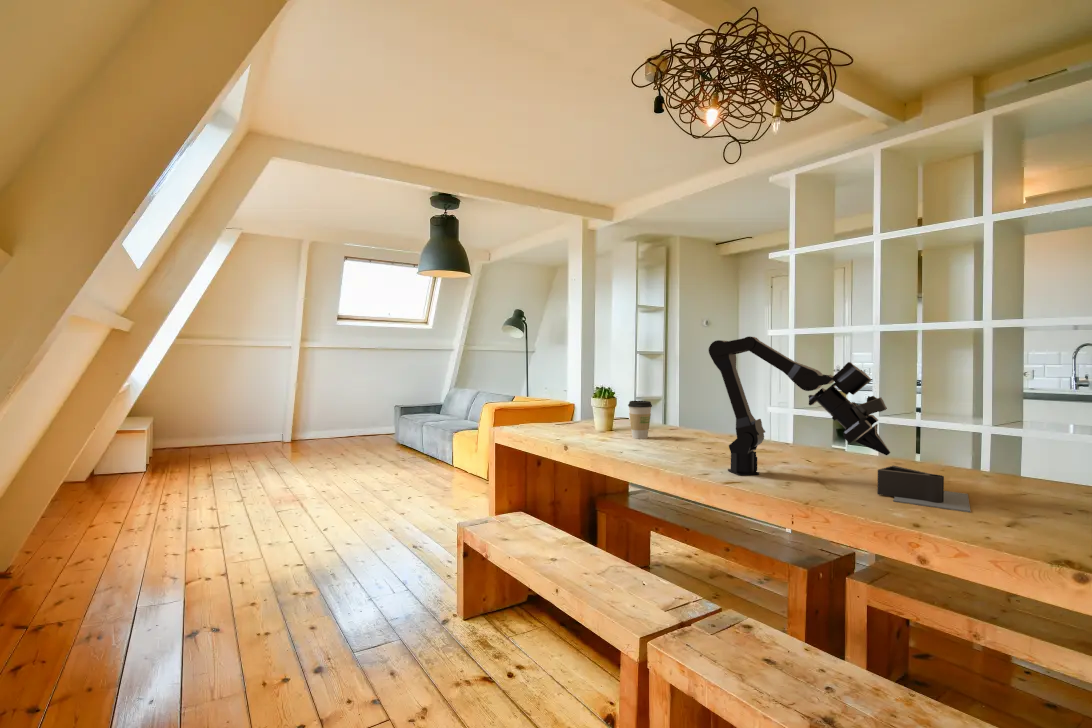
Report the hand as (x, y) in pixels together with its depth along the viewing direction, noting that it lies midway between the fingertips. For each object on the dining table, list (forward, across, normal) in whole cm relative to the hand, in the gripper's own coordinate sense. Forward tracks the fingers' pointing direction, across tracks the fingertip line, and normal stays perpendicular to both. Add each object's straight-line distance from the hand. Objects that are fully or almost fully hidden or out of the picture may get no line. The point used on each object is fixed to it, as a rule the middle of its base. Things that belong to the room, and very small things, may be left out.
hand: (888, 454), depth 131 cm
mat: (+13, 0, +1) cm, 13 cm away
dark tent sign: (+4, -1, +5) cm, 6 cm away
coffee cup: (-56, +40, +70) cm, 98 cm away
